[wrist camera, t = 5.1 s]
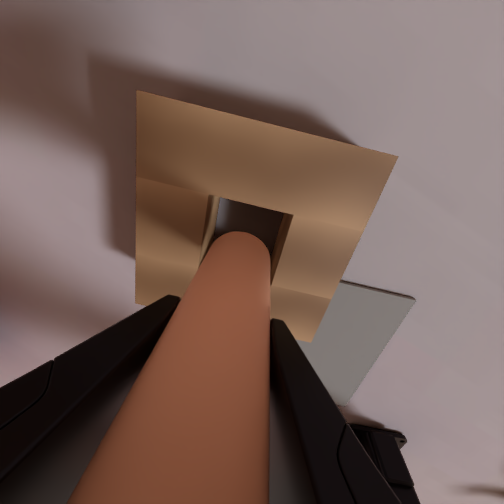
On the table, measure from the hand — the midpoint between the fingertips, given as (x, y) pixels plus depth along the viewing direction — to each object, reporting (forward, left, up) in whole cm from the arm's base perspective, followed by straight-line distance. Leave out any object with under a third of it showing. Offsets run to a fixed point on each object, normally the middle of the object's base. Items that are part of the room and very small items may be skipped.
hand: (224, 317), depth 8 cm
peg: (0, 0, -4) cm, 4 cm away
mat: (-10, -9, -10) cm, 17 cm away
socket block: (0, 0, -10) cm, 10 cm away
